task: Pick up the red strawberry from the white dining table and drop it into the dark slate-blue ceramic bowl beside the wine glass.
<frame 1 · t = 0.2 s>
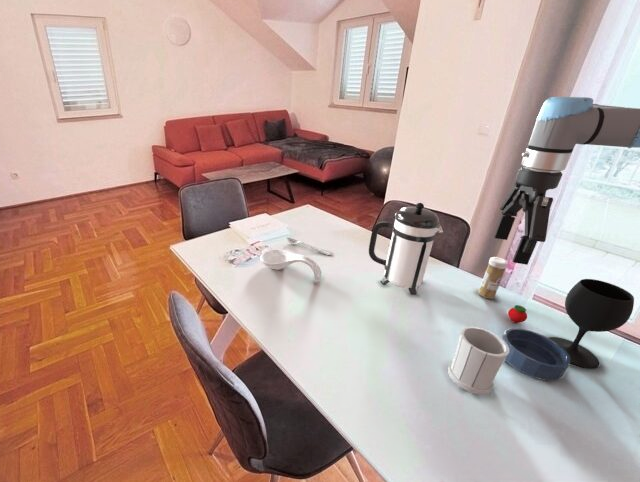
hand: (509, 249, 80), 25 cm above the table, tool pointing down, fingers open, 13 cm apart
wine glass: (570, 353, 81), on the table
spoon: (307, 248, 133), on the table
sprinkles bottle: (485, 295, 103), on the table
cup: (468, 377, 75), on the table
spoon rest: (289, 270, 117), on the table
strawberry: (514, 321, 92), on the table
bowl: (528, 361, 79), on the table
coffee press: (396, 282, 110), on the table
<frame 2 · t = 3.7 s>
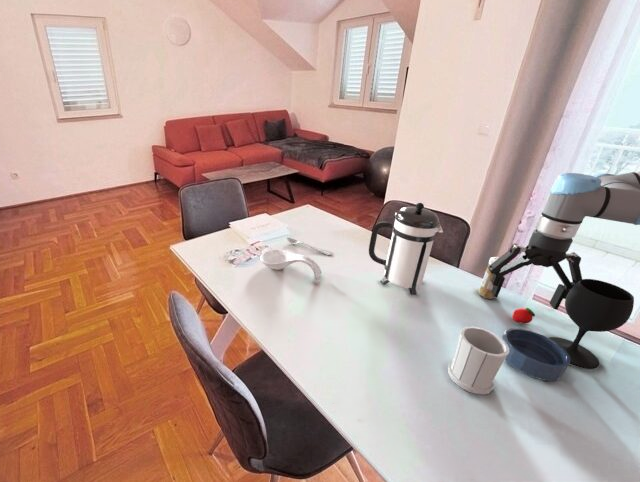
hand: (522, 300, 89), 8 cm above the table, tool pointing down, fingers open, 13 cm apart
strawberry: (513, 320, 92), on the table, tilted 49°
everything else where it was.
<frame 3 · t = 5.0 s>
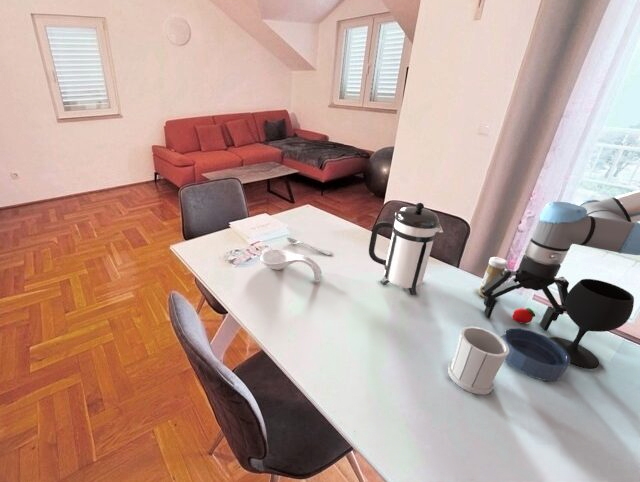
hand: (514, 321, 92), 0 cm above the table, tool pointing down, fingers open, 13 cm apart
strawberry: (513, 319, 92), point 1 cm above the table, tilted 54°
everything else where it was.
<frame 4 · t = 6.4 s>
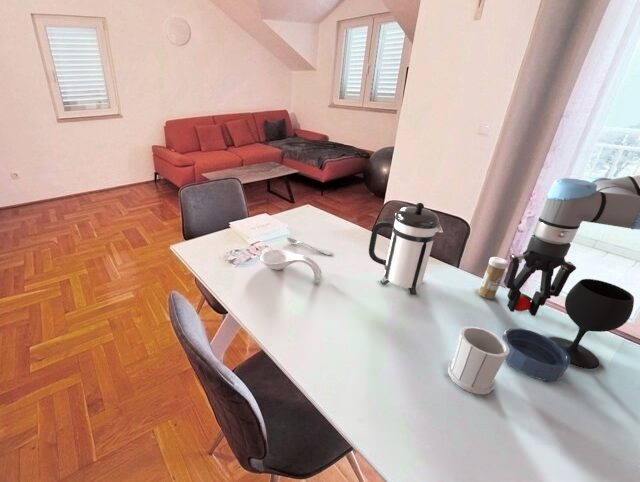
hand: (520, 310, 90), 4 cm above the table, tool pointing down, fingers closed on strawberry, 4 cm apart
strawberry: (515, 310, 90), point 4 cm above the table, tilted 39°, touching gripper
everything else where it was.
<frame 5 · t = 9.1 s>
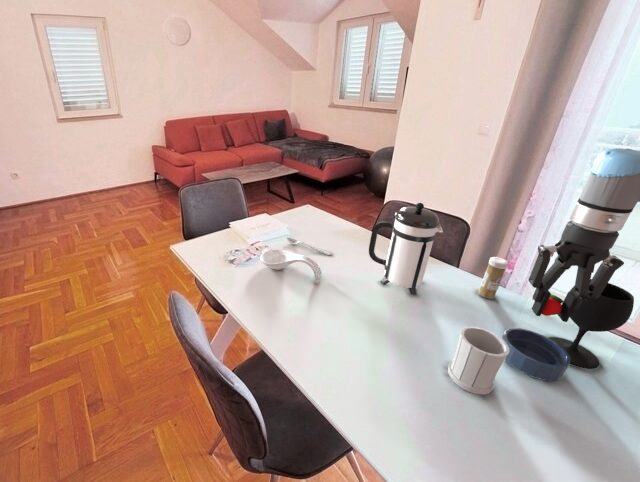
hand: (548, 315, 74), 14 cm above the table, tool pointing down, fingers closed on strawberry, 4 cm apart
strawberry: (541, 314, 74), point 14 cm above the table, tilted 39°, touching gripper
everything else where it was.
when the fingers open (2 cm above the table, at t = 13.1 s): strawberry stays where it is and tips over, resting on bowl.
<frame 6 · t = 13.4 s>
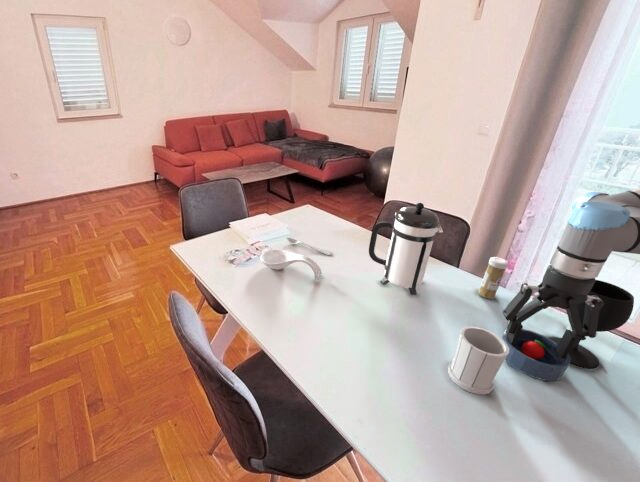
hand: (534, 348, 77), 4 cm above the table, tool pointing down, fingers open, 9 cm apart
strawberry: (524, 356, 79), point 1 cm above the table, tilted 54°, touching bowl
everything else where it was.
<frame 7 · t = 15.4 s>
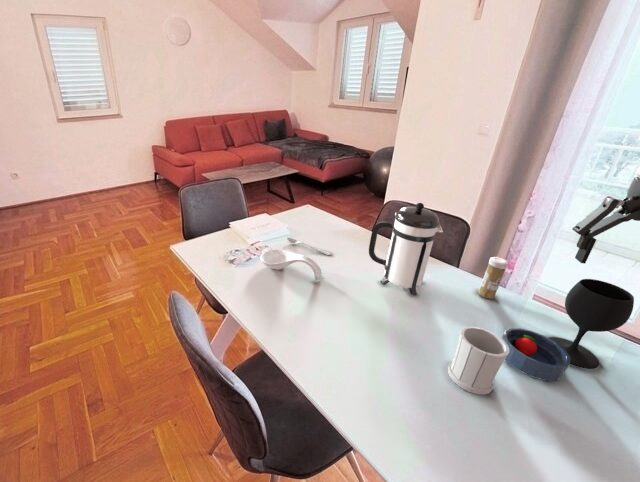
hand: (616, 265, 75), 24 cm above the table, tool pointing down, fingers open, 13 cm apart
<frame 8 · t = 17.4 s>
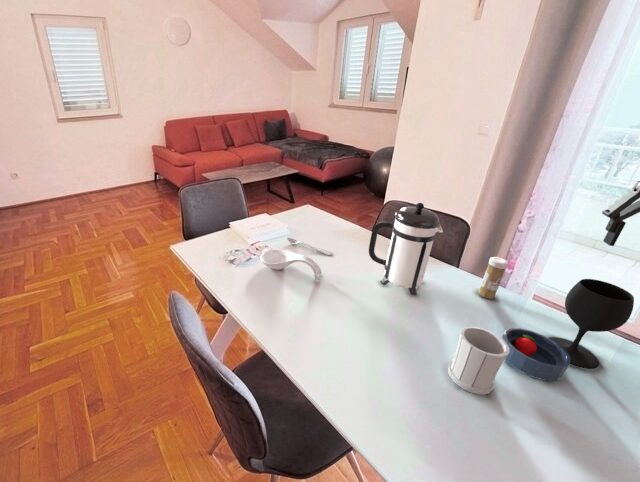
at the end: strawberry inside the target area in the bowl (1.5 cm from its centre), point 1.2 cm above the bowl's base; the gripper is holding nothing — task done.
